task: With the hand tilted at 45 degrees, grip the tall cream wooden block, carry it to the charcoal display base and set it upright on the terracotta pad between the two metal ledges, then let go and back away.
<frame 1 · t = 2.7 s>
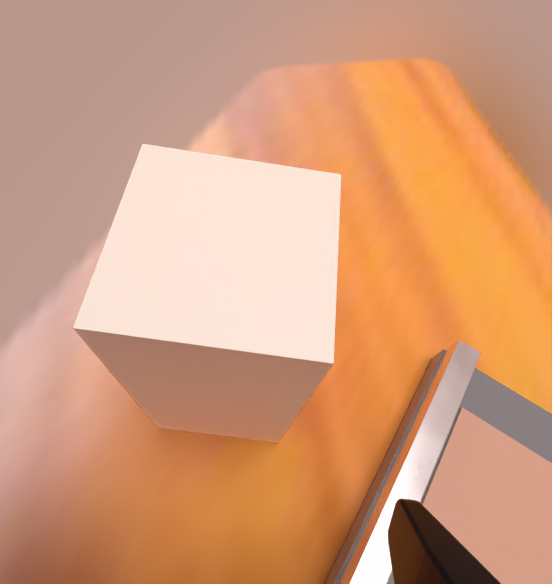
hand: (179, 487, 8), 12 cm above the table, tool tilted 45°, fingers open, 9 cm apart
display base: (485, 528, 19), on the table
cream block: (227, 377, 22), on the table
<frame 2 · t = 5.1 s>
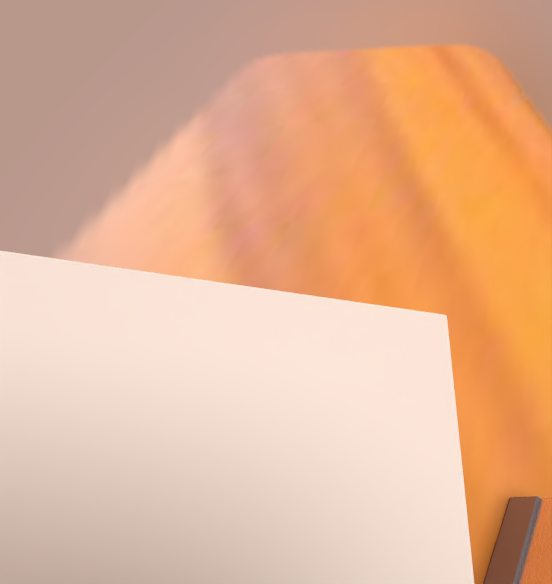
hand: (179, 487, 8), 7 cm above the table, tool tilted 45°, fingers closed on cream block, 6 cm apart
cream block: (190, 545, 13), on the table, touching gripper
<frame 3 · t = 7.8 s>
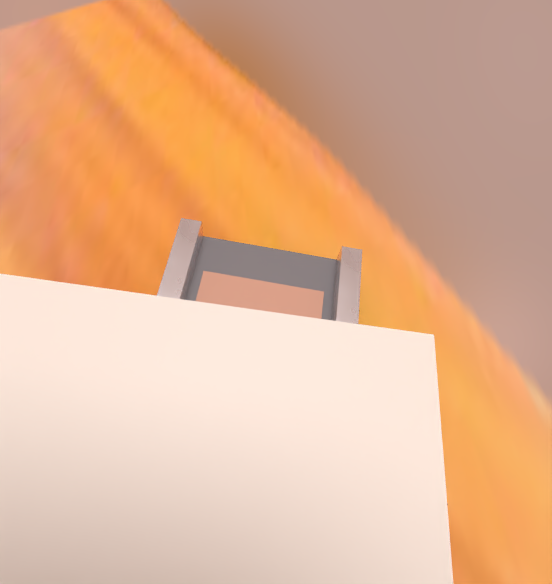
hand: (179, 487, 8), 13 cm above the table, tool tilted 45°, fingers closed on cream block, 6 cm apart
display base: (251, 354, 24), on the table
cream block: (193, 537, 14), point 6 cm above the table, touching gripper
when the fingers open (10 cm above the table, at t = 10.8 s): cream block stays where it is, resting on display base.
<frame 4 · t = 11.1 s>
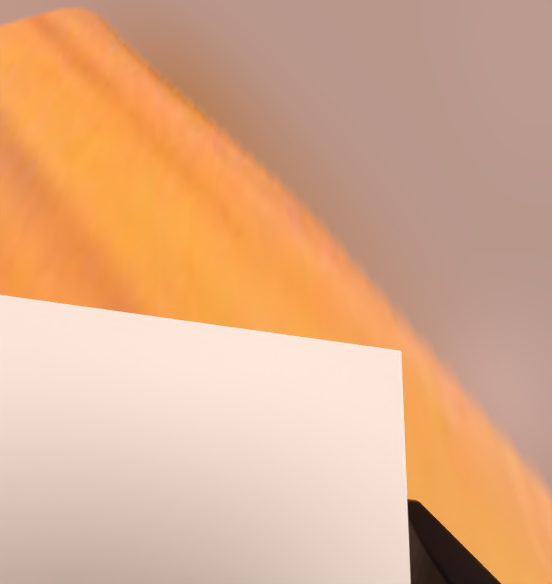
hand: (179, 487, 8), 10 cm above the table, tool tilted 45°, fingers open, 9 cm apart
cream block: (196, 534, 15), point 2 cm above the table, touching display base
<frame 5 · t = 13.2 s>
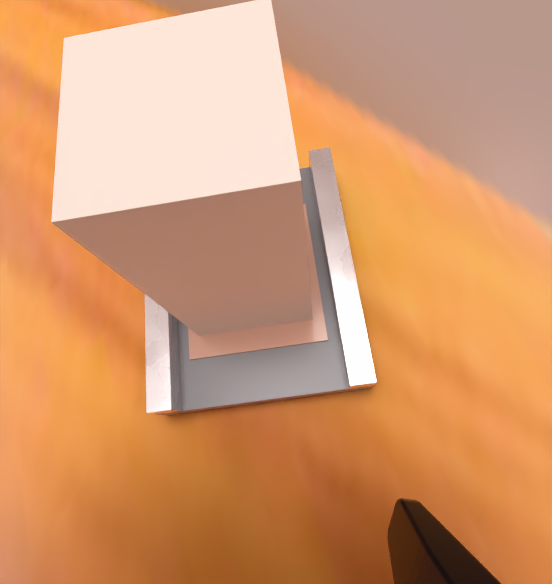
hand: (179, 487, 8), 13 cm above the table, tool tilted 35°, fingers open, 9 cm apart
display base: (255, 287, 24), on the table
cream block: (250, 274, 22), point 2 cm above the table, touching display base
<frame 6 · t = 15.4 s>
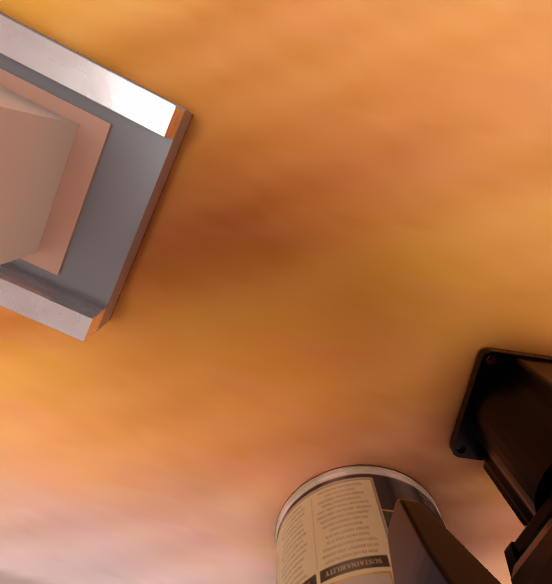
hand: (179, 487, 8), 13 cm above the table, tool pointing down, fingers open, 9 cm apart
display base: (17, 161, 19), on the table
coffee can: (356, 530, 25), on the table
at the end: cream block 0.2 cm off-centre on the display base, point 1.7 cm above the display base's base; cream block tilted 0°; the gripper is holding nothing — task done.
